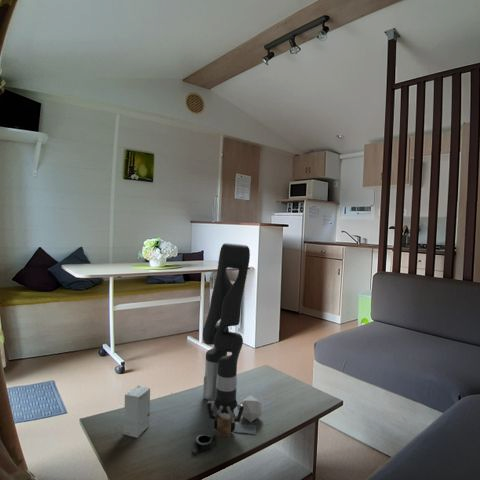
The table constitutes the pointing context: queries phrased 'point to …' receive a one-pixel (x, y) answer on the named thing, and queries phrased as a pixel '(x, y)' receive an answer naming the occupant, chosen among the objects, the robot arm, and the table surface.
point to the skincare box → (137, 411)
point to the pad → (245, 429)
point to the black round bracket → (203, 443)
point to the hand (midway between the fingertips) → (224, 430)
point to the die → (251, 408)
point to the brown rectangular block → (224, 425)
